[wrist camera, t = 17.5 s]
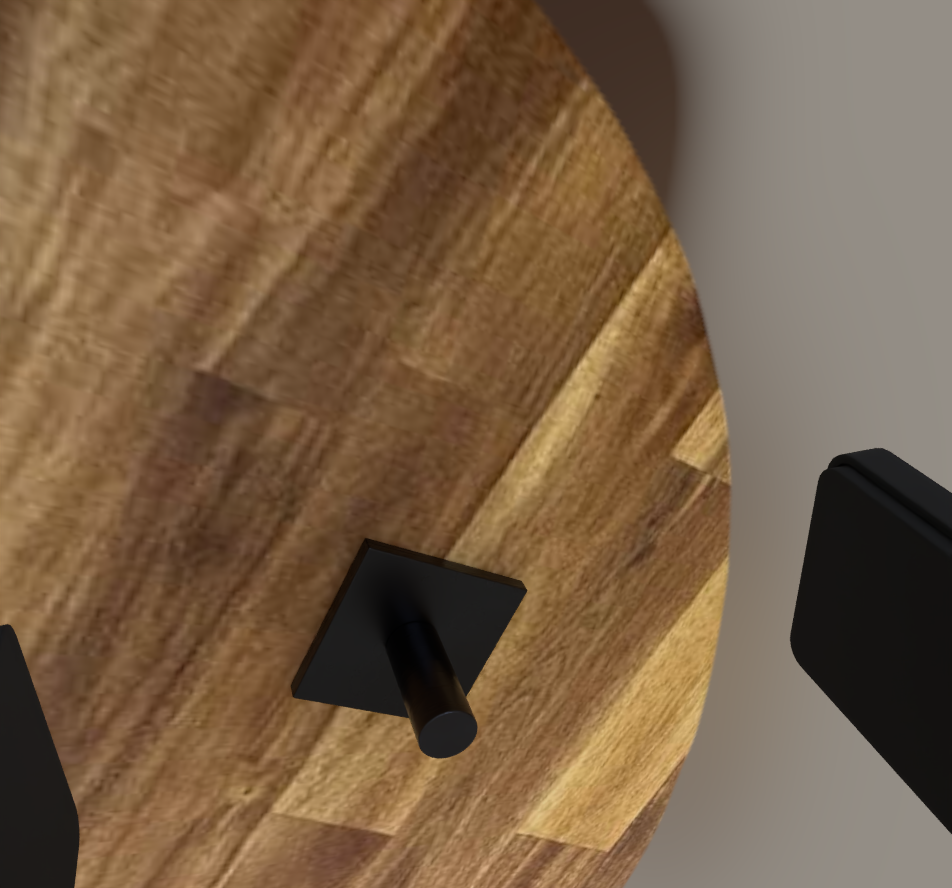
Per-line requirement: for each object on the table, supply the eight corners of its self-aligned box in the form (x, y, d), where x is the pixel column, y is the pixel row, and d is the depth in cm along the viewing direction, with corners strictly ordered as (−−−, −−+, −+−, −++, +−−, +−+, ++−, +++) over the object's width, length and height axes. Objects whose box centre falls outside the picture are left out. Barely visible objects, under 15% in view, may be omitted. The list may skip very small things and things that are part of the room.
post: (365, 537, 37) (401, 633, 32) (522, 580, 41) (579, 673, 35) (290, 685, 39) (312, 800, 34) (445, 714, 43) (487, 821, 38)
